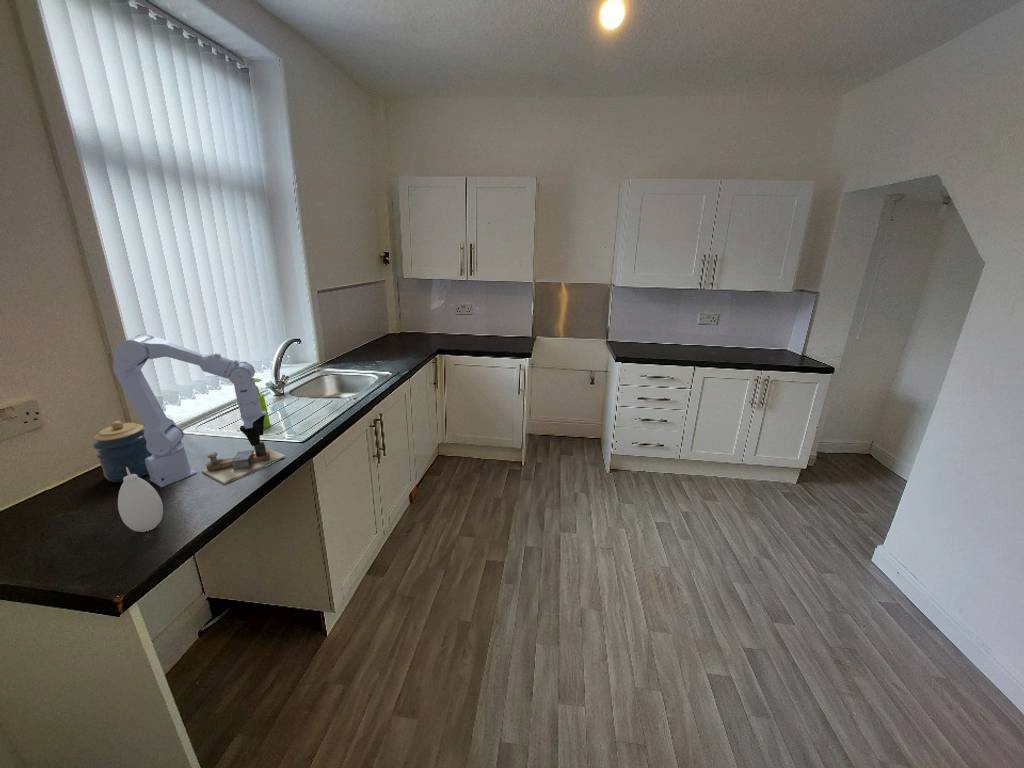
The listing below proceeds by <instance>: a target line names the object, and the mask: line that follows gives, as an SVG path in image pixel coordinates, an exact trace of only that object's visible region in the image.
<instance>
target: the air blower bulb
mask: <svg viewBox="0 0 1024 768" xmlns="http://www.w3.org/2000/svg"><path fill="white" fill-rule="evenodd" d="M126 470H127V474H128V476H125V477H124V478H123V482H122V484H121V486H120V489H119V491H118V497H117V510H118V513H119V515H120V518H121V521H122V522H123V524H125V526H126V527H128V528H129V529H130V530H132V531H134V532H140V533H146V531H147V532H150V531H152V530H153V529H155V528H157V526H158V525H159V524H160V522H161V521H162V518H163V516H164V515H163V514H164V504H163V501H162V498H161V496H160V495H159V493H158V491H157V490H156V488H154V487H153V485H151V484H150V483H149V482H148V481H146V480H145V479H143V478H142V477H138V476H137V475H136V474H130V472H129V469H128V468H127V467H126ZM149 530H150V531H149Z"/></svg>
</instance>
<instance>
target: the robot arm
mask: <svg viewBox="0 0 1024 768" xmlns="http://www.w3.org/2000/svg"><path fill="white" fill-rule="evenodd" d="M112 352H113V354H114V359H113V360H114V361H113V368H112V370H113V373H114V375H115V376H116V378H117V380H118V382H119V384H120V385H121V387H122V389H123V391H124V392H125V394H126V396H127V398H128V399H129V401H130V402H131V404H132V406H133V408H134V409H135V411H136V413H137V414H138V416H139V418H140V420H141V421H142V423H143V426H144V430H145V432H144V437H145V439H146V448H147V450H148V451H149V452H150V453H151V454H153V455H152V456H150V457H148V458H146V459H145V464H146V467H147V470H148V473H149V474H148V476H149V477H150V479H149V480H150V481H151V482H152V483H153V484H155V485H156V486H158V487H160V488H164V487H166V486H169V485H171V484H173V483H174V484H175V483H176V482H178V481H181V480H183V479H187V478H188V477H191V476H193V475H196V474H197V473H198V472H197V471H196V470H195V469H193V468H191V465H190V462H189V459H188V456H187V452H186V448H185V445H184V443H183V442H182V440H183V438H184V436H185V433H184V432H185V431H183V429H182V428H181V427H179V426H178V425H177V424H176V423H175V421H174V420H173V419H171V418H169V417H167V415H166V413H165V411H164V409H163V408H162V406H161V404H160V402H159V400H158V399H157V397H156V395H155V393H154V391H153V390H152V387H151V386H150V384H149V382H148V380H147V379H146V377H145V375H144V374H143V372H142V368H144V366H145V364H146V362H147V361H148V360H154V359H159V358H160V359H161V358H164V357H167V358H170V359H173V360H178V361H181V362H185V363H188V364H192V365H195V366H198V367H199V368H200V369H201V371H202V372H205V373H208V374H211V375H213V376H216V377H220V378H224V379H228V380H229V382H230V383H232V384H233V387H234V392H235V397H236V400H237V401H236V402H237V405H238V409H239V413H240V420H241V421H242V423H243V425H240V426H239V430H240V432H241V433H243V434H244V435H245V437H246V438H247V440H248V442H249V444H250V445H251V447H254V446H256V445H259V444H260V442H261V436H264V432H265V431H264V430H265V429H264V418H265V415H266V414H267V412H268V411H267V412H266V411H262V410H261V405H260V401H259V396H258V392H257V387H256V386H257V385H256V382H255V380H254V378H255V377H254V376H255V373H256V370H255V368H254V366H253V365H252V364H251V363H249V362H247V361H240V362H239V360H237V359H234V360H232V359H229V358H226V357H223V356H221V353H217V352H216V353H208V354H202V353H199V352H197V351H194V350H192V349H189V348H186V347H185V346H184V347H183V346H181V345H178V344H177V343H176V344H175V343H173V342H170V341H168V340H166V339H164V338H162V337H158V336H155V337H154V336H153V335H150V334H148V333H141V334H137V335H136V336H134V337H131V338H130V339H126V340H123V341H121V342H120V343H118V345H116V347H115V348H114V349H113V351H112Z"/></svg>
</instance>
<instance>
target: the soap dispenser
mask: <svg viewBox="0 0 1024 768" xmlns="http://www.w3.org/2000/svg"><path fill="white" fill-rule="evenodd" d="M253 378H254V380H255V383H260V382H261V381H262V379H261V378H256V377H253ZM256 387H257V392H258V396H259V401H260V405H261V410H262V411H266V412H267V414H266V415H265V418H264V430H265V429H267V428H269V427H270V426H271V421H270V417H269V412H268V407H267V404H266V403H267V402H266V399H265V396H264V393H261V392H260V389H259V386H258V385H256Z"/></svg>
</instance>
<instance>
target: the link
mask: <svg viewBox="0 0 1024 768" xmlns="http://www.w3.org/2000/svg"><path fill="white" fill-rule="evenodd" d="M265 447H266V445H265V442H264V441H260V444H259V445H256V446H253V449H255V453H256V454H253V455H252V456H251V458H250V460H251V462H257V461H263V460H268V459H269V457H270V454H269V451H268V452H266V448H265ZM218 455H219V454H218V452H216V451H215V452H210V453H208V454H207V455H206V456H207V458H208V459H210V460H209V461H208V462H207V463H206V464H205V467H206V468H207V470H217V469H220V468H224V467H229V466H232V462H231V461H232V460H233V459H234V457H235V456H233V457H229V458H224V459H223V458H222V459H218V458H217V456H218Z"/></svg>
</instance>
